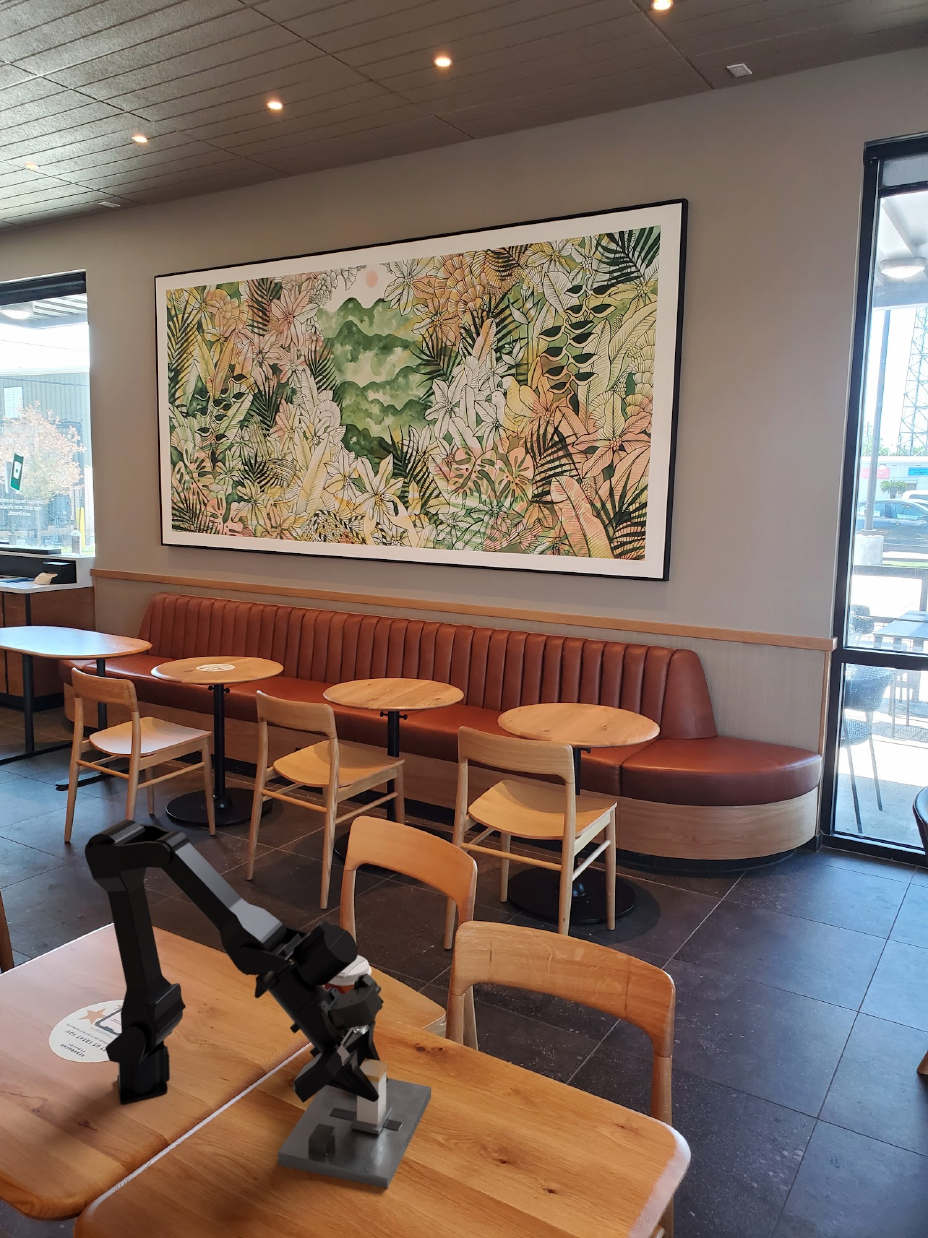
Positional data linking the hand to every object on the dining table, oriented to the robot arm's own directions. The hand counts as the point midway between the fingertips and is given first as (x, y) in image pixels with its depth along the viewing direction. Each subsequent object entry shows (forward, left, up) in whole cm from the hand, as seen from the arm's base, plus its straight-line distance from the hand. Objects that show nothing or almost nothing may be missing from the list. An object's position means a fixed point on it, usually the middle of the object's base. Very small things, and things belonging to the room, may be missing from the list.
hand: (381, 1091), depth 118 cm
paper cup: (+2, +20, -7) cm, 21 cm away
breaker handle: (-1, +1, -4) cm, 4 cm away
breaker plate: (-2, +2, -7) cm, 7 cm away
